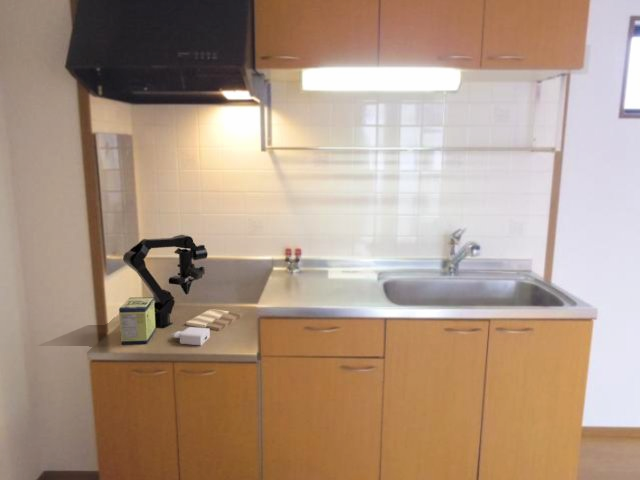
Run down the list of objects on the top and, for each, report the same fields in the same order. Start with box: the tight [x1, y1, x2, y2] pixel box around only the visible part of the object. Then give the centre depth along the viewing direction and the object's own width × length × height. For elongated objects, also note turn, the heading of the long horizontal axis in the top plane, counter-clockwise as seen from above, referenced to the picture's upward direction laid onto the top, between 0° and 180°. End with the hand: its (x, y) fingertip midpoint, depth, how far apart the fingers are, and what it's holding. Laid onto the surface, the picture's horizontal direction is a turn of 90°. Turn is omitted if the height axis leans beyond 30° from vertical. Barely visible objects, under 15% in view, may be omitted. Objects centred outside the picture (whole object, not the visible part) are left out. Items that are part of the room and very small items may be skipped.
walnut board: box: [206, 311, 243, 332], centre depth 216 cm, size 20×7×2 cm, turn 160°
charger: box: [170, 326, 211, 346], centre depth 195 cm, size 5×9×15 cm
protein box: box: [118, 296, 156, 345], centre depth 196 cm, size 10×16×16 cm
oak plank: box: [185, 308, 229, 328], centre depth 219 cm, size 20×10×2 cm, turn 160°
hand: (186, 294), depth 219 cm, fingers closed
